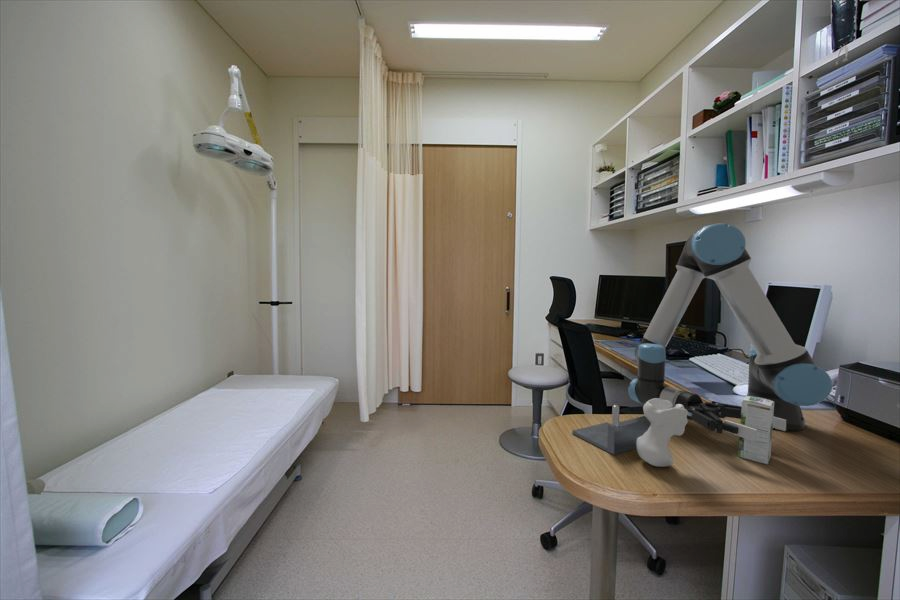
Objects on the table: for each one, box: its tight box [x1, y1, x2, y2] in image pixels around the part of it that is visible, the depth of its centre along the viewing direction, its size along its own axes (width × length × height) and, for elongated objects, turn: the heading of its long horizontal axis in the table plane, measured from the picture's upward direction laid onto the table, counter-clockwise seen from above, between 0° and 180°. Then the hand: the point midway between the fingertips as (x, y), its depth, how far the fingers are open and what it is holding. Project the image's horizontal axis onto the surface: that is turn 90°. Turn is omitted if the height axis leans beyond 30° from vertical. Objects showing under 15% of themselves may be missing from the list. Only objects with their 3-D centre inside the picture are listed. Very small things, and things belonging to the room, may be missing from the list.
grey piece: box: [571, 404, 651, 456], centre depth 99 cm, size 14×14×12 cm
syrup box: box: [737, 395, 774, 465], centre depth 89 cm, size 6×6×14 cm
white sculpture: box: [636, 398, 689, 468], centre depth 85 cm, size 10×11×15 cm
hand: (771, 430), depth 86 cm, fingers open, 13 cm apart
